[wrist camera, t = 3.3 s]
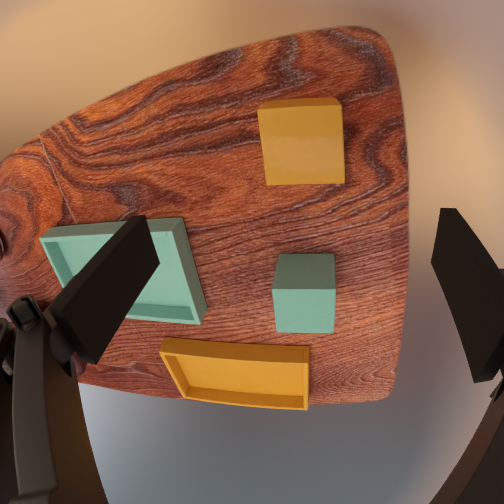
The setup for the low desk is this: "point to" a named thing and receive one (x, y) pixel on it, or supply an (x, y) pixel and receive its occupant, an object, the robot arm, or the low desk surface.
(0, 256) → the beverage can
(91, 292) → the robot arm
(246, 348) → the ochre tray
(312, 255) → the teal block
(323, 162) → the ochre block
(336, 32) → the low desk surface
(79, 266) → the teal tray
